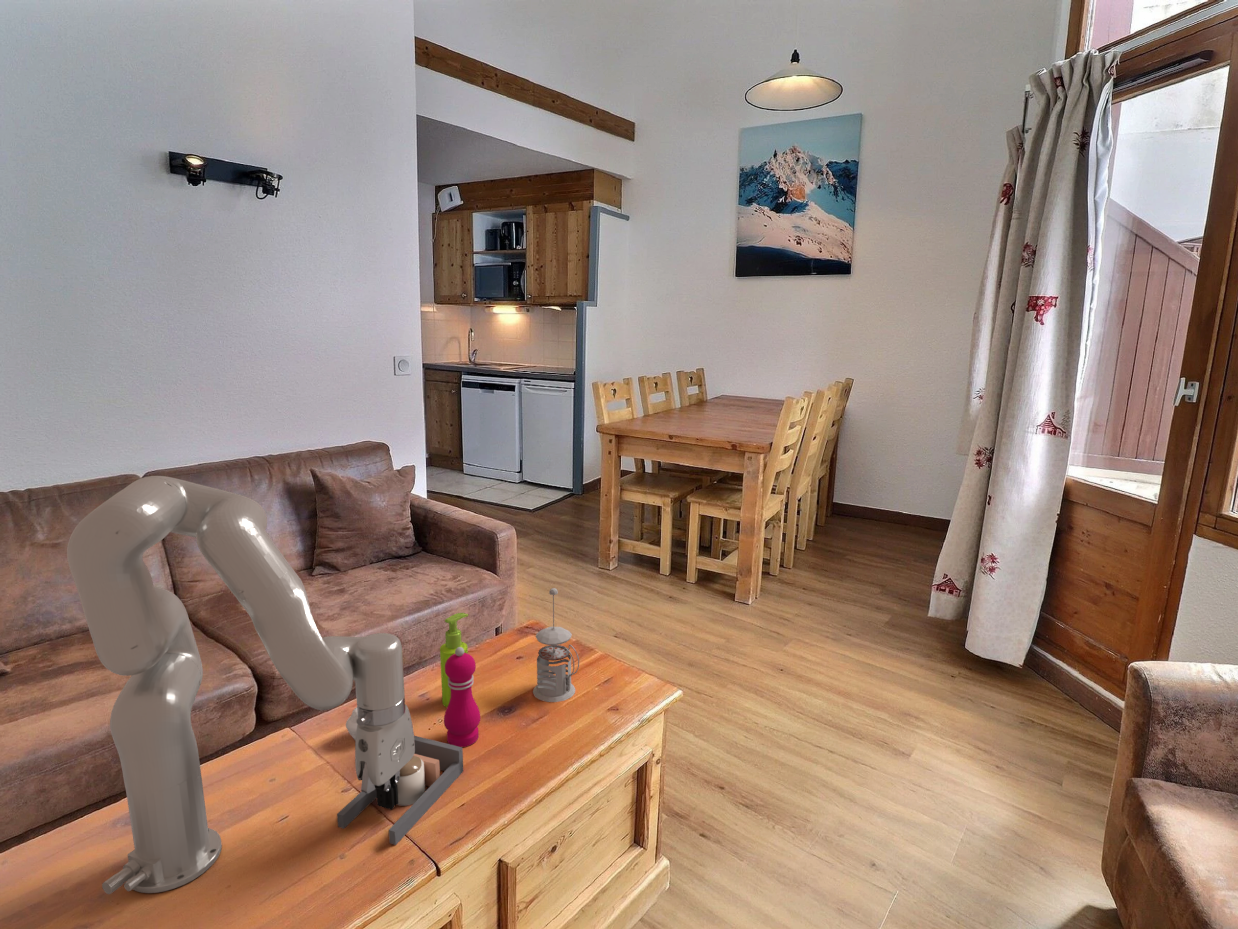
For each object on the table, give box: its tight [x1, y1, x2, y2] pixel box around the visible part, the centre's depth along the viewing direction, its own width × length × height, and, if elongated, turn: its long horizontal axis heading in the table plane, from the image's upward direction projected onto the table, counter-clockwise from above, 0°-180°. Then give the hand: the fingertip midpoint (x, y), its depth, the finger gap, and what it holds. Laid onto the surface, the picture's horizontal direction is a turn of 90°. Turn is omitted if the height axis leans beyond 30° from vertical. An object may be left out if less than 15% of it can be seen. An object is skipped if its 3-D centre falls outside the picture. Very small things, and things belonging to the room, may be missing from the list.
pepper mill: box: [443, 647, 481, 748], centre depth 138 cm, size 7×7×20 cm
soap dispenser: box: [439, 612, 469, 708], centre depth 152 cm, size 6×7×20 cm
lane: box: [336, 735, 464, 846], centre depth 122 cm, size 20×12×5 cm, turn 160°
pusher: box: [413, 754, 441, 788], centre depth 126 cm, size 1×8×5 cm, turn 71°
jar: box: [396, 756, 426, 807], centre depth 123 cm, size 6×6×6 cm
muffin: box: [345, 707, 358, 742], centre depth 139 cm, size 6×6×7 cm
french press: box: [532, 587, 580, 703], centre depth 156 cm, size 10×12×25 cm
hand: (387, 805), depth 118 cm, fingers closed
